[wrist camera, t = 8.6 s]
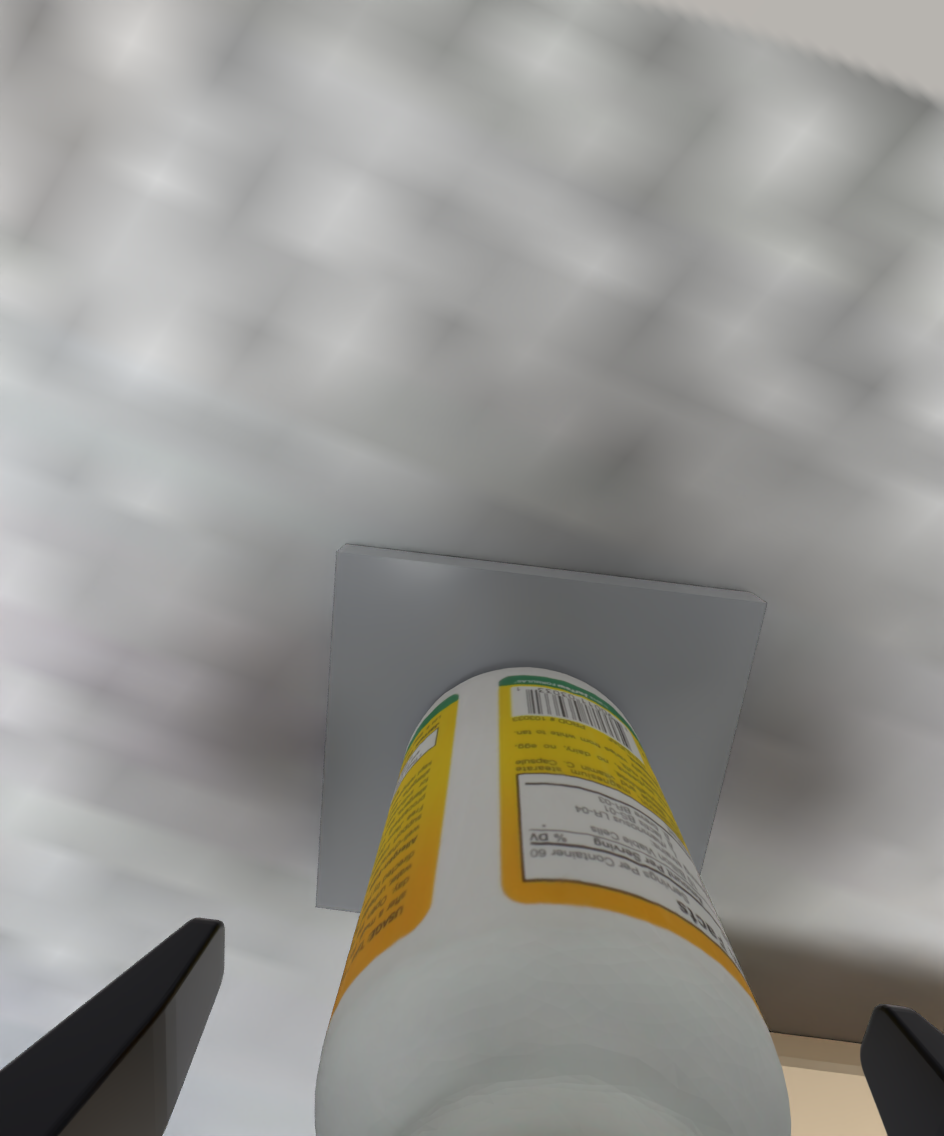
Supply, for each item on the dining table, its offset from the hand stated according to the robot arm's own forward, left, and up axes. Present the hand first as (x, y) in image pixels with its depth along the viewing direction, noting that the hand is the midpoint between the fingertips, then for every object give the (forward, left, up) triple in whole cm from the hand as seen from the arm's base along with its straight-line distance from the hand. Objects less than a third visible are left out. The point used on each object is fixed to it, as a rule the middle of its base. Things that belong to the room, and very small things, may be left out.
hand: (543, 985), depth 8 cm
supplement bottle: (0, 0, -6) cm, 6 cm away
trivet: (0, 0, -6) cm, 6 cm away
